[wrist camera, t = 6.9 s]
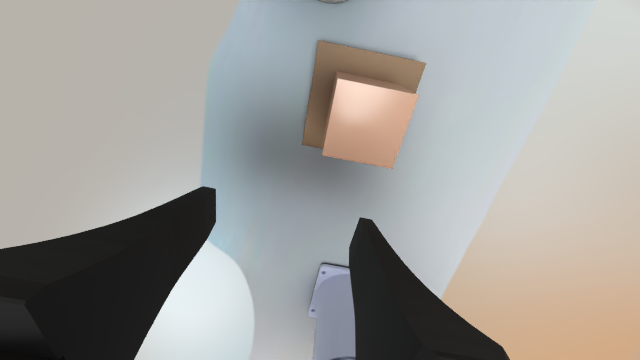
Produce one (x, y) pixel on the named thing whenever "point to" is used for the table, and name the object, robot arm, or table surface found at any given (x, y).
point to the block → (367, 120)
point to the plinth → (357, 64)
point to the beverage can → (333, 1)
